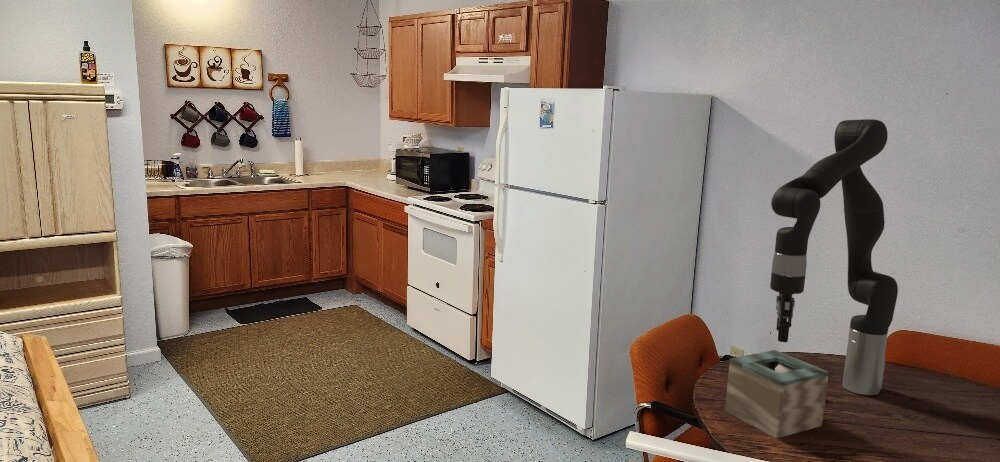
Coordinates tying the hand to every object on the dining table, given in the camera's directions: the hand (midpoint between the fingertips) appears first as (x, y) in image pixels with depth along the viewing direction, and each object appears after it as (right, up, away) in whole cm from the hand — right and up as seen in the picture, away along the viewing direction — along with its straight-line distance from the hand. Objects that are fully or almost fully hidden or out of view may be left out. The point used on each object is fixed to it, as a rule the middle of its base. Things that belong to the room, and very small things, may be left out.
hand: (781, 336), depth 167 cm
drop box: (-1, -21, +4) cm, 22 cm away
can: (0, -20, +4) cm, 20 cm away
